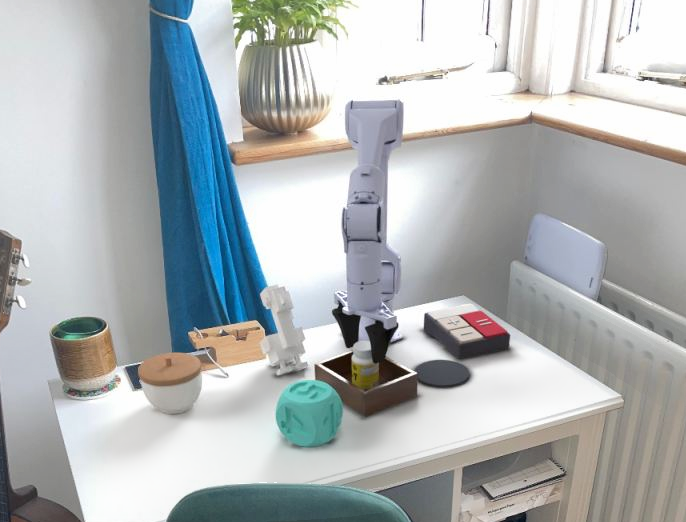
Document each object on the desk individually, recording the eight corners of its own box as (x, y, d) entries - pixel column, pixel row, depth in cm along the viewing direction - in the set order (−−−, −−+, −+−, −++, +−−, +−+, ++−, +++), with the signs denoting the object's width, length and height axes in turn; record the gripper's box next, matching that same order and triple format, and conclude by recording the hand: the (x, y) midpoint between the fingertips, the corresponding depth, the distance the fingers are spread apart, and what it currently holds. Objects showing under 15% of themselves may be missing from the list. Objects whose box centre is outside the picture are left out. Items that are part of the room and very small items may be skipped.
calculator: (460, 342, 148) (423, 309, 159) (458, 362, 151) (422, 328, 162) (511, 331, 151) (472, 299, 162) (509, 351, 154) (470, 319, 165)
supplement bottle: (350, 383, 144) (349, 340, 139) (376, 381, 144) (376, 338, 139) (353, 396, 140) (352, 352, 135) (380, 393, 140) (380, 350, 135)
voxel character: (287, 366, 140) (261, 284, 140) (268, 380, 151) (244, 305, 151) (323, 356, 142) (297, 276, 142) (302, 371, 153) (278, 297, 153)
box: (315, 385, 144) (314, 363, 142) (365, 366, 150) (365, 345, 147) (364, 417, 134) (364, 394, 132) (417, 395, 140) (417, 373, 137)
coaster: (402, 372, 147) (402, 370, 147) (443, 356, 152) (443, 354, 151) (439, 392, 140) (439, 390, 140) (481, 375, 145) (481, 373, 144)
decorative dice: (318, 452, 126) (316, 408, 121) (276, 439, 130) (272, 396, 125) (344, 428, 131) (342, 385, 127) (303, 417, 135) (300, 375, 131)
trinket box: (217, 396, 142) (211, 348, 137) (184, 425, 134) (177, 376, 129) (167, 386, 146) (159, 339, 141) (132, 414, 138) (123, 365, 133)
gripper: (318, 272, 134) (321, 346, 141) (372, 297, 124) (372, 375, 131) (352, 262, 137) (353, 335, 144) (407, 286, 127) (405, 363, 134)
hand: (365, 353), depth 138 cm, fingers open, 7 cm apart
